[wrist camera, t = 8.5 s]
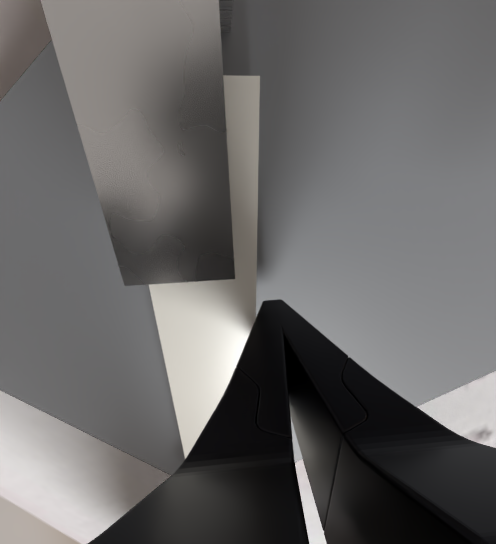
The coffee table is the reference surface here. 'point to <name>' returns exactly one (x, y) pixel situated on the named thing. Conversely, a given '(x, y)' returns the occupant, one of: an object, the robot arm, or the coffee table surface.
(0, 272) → the pivot base plate
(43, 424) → the coffee table surface
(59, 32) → the keeper
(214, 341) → the link
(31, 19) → the coffee table surface
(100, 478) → the coffee table surface
